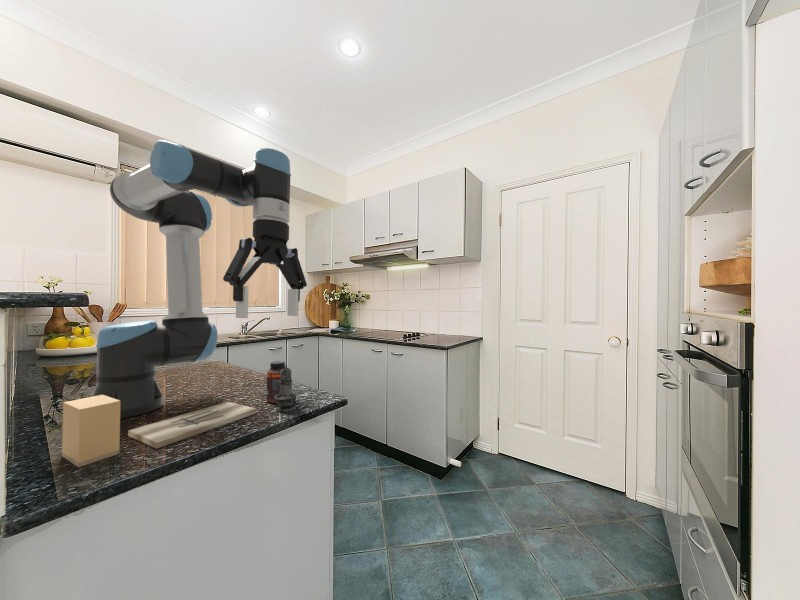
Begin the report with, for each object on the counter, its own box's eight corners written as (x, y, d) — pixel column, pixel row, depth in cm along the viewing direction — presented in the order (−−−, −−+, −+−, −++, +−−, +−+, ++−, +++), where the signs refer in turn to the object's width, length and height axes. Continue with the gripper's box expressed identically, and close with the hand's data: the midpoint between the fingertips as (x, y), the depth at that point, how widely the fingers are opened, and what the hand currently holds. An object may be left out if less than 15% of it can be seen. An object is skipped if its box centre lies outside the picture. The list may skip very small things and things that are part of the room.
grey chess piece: (300, 405, 85) (301, 362, 85) (290, 413, 79) (291, 367, 79) (280, 405, 85) (281, 362, 85) (269, 412, 79) (270, 366, 80)
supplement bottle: (291, 400, 89) (292, 362, 90) (271, 405, 85) (272, 364, 85) (282, 396, 93) (282, 359, 94) (262, 400, 89) (263, 362, 89)
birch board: (128, 435, 65) (128, 430, 65) (227, 405, 84) (227, 401, 84) (156, 448, 59) (156, 442, 59) (256, 413, 79) (256, 408, 79)
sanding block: (61, 456, 56) (63, 402, 56) (101, 444, 61) (102, 394, 61) (78, 467, 52) (79, 409, 52) (119, 453, 57) (120, 400, 57)
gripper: (229, 203, 55) (226, 320, 55) (322, 232, 77) (320, 315, 77) (204, 208, 58) (201, 318, 58) (300, 235, 81) (298, 314, 80)
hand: (269, 317), depth 67 cm, fingers open, 13 cm apart
